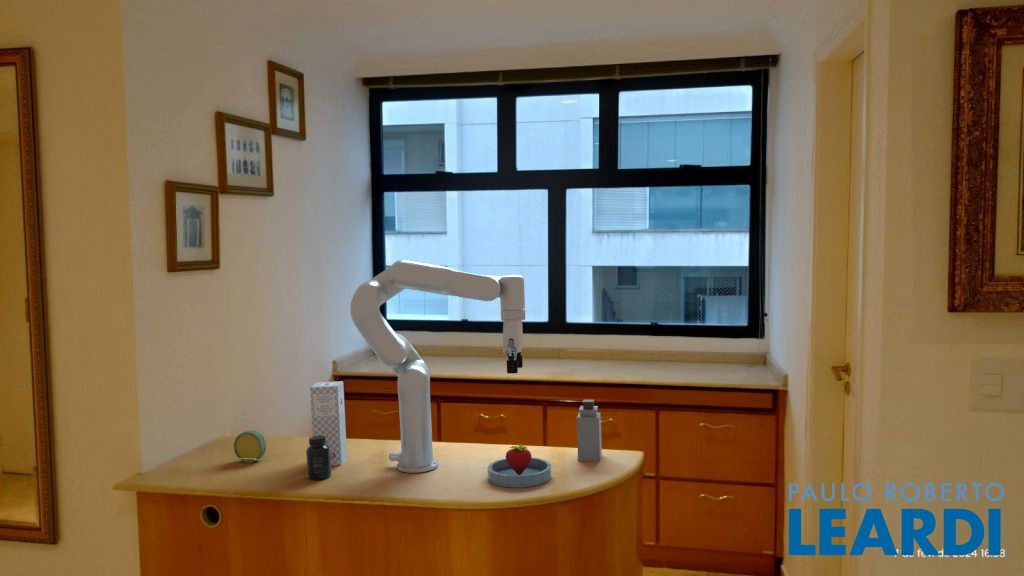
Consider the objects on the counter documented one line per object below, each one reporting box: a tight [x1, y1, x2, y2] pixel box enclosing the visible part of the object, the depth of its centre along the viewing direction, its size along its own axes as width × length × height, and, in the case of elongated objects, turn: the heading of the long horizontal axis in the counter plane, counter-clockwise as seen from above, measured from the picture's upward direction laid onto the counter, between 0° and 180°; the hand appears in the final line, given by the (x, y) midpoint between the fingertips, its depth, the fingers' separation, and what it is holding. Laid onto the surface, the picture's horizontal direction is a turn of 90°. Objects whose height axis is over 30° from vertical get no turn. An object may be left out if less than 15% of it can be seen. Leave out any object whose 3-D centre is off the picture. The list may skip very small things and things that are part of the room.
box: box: [309, 380, 348, 467], centre depth 227 cm, size 8×8×25 cm
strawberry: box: [505, 439, 532, 475], centre depth 205 cm, size 6×8×10 cm
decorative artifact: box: [233, 429, 267, 464], centre depth 233 cm, size 10×7×10 cm
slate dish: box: [487, 456, 552, 489], centre depth 205 cm, size 18×18×3 cm
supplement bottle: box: [305, 435, 332, 481], centre depth 212 cm, size 7×7×12 cm
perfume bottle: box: [576, 399, 603, 462], centre depth 221 cm, size 7×7×18 cm
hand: (515, 370), depth 220 cm, fingers open, 9 cm apart
